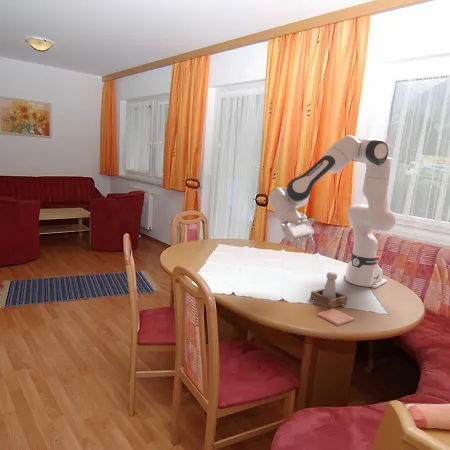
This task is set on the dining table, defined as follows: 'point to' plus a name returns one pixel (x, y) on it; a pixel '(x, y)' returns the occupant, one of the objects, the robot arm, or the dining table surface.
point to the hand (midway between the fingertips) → (308, 246)
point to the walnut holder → (326, 301)
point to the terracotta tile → (336, 316)
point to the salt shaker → (330, 286)
